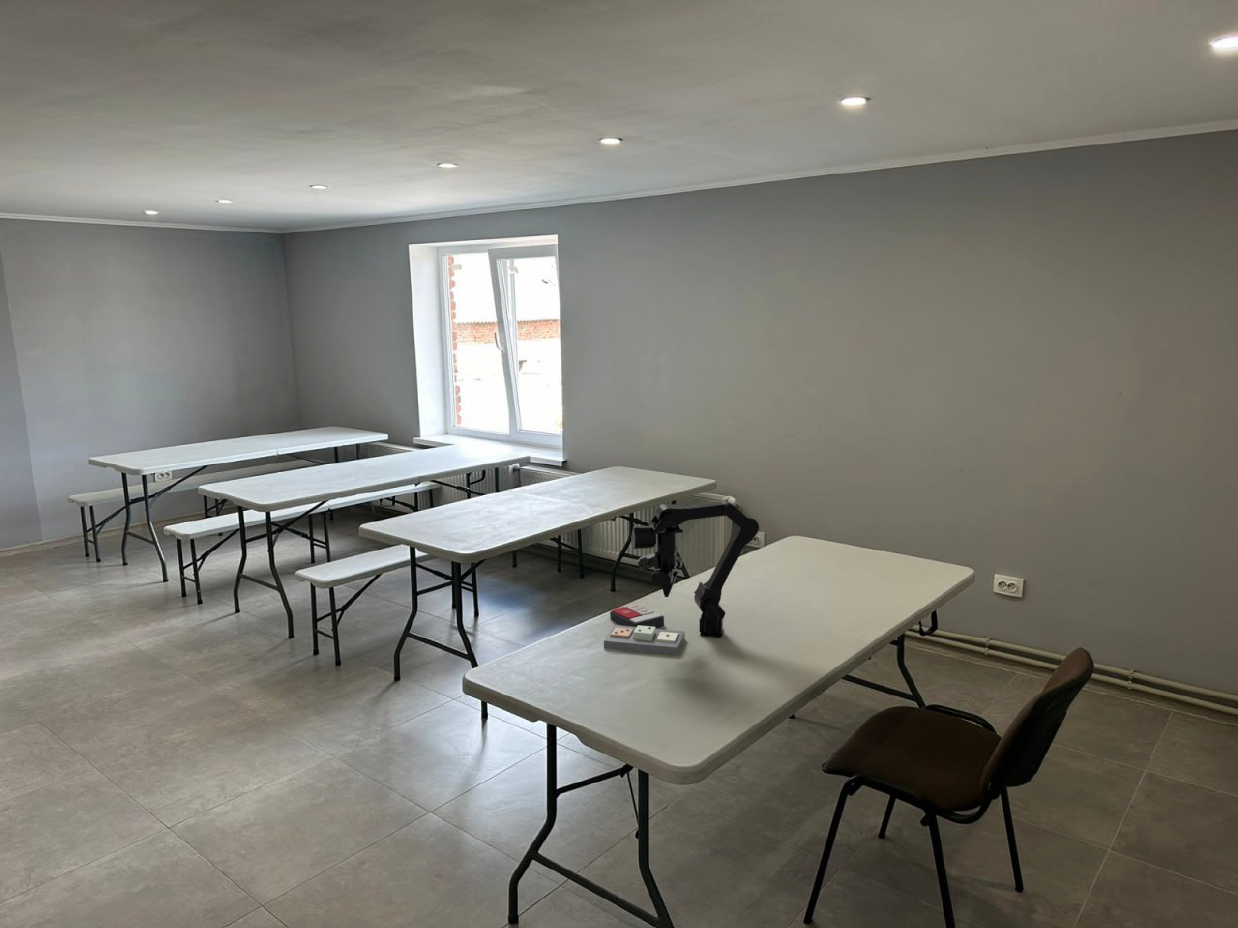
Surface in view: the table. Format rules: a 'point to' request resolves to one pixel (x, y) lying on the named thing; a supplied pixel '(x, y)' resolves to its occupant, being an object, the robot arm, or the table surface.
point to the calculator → (637, 616)
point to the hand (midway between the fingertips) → (666, 596)
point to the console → (644, 642)
